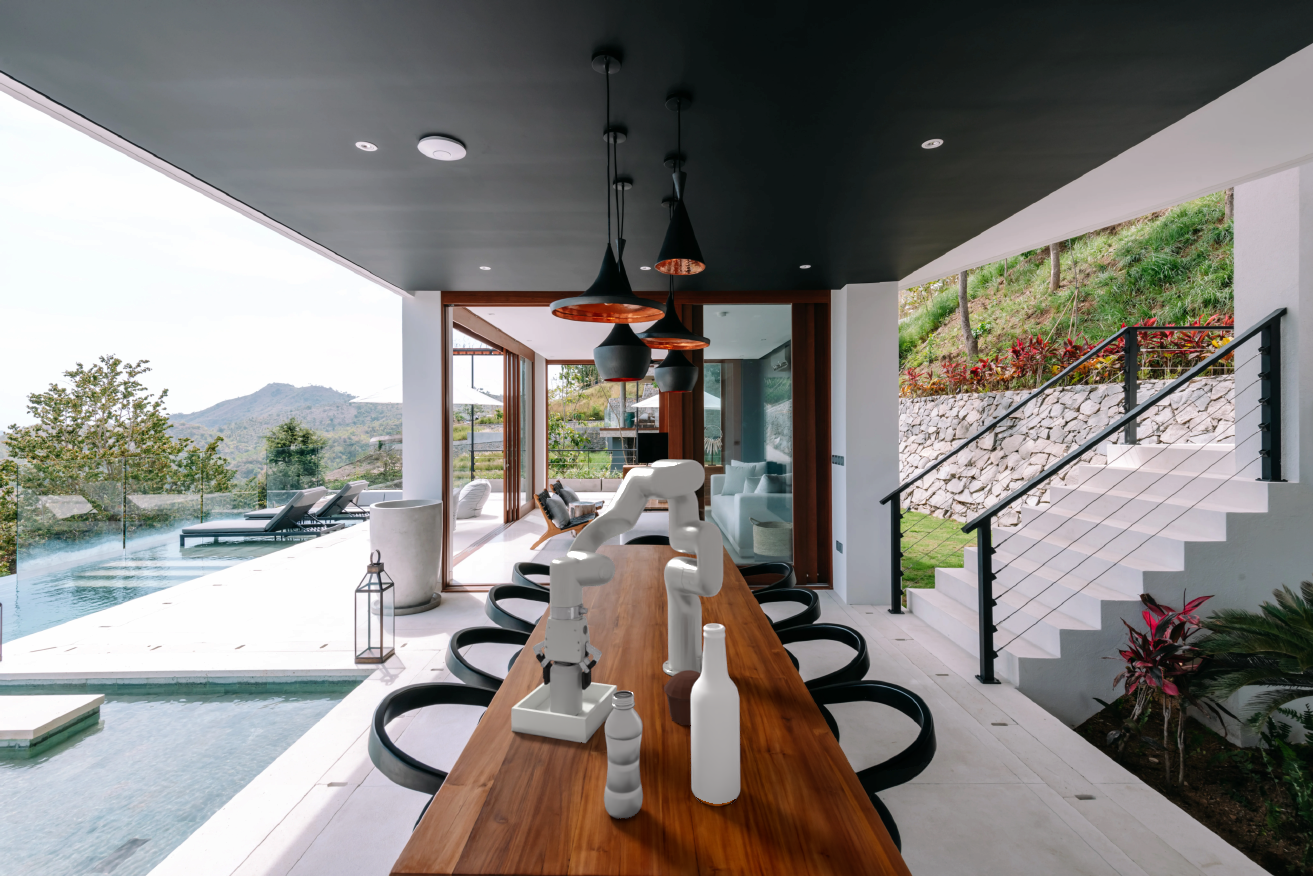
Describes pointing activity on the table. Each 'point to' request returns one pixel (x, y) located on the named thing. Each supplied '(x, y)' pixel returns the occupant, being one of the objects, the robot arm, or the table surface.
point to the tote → (540, 721)
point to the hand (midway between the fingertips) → (567, 685)
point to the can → (566, 688)
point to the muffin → (681, 695)
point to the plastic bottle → (623, 757)
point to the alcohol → (715, 725)
